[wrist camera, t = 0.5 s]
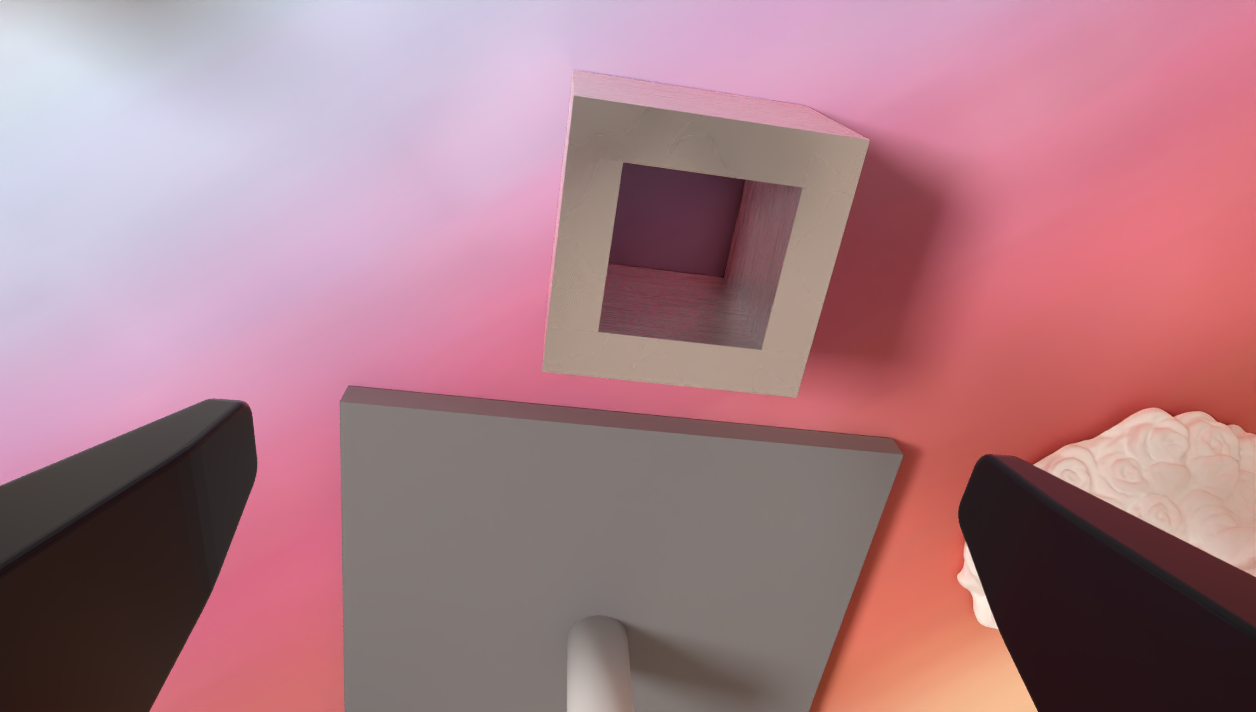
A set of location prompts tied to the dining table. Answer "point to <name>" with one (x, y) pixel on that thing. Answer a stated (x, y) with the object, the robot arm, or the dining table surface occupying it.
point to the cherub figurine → (1163, 484)
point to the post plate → (594, 556)
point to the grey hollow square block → (759, 254)
